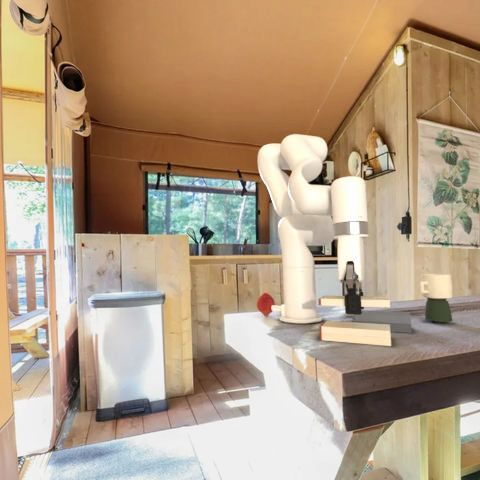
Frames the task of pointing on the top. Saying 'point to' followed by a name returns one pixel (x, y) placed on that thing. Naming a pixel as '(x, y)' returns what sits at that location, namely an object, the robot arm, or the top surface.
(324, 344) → the top surface
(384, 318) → the grey rectangular block
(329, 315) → the top surface
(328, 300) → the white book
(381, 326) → the cream rectangular block
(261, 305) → the onion
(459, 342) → the top surface
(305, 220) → the robot arm
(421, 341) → the top surface
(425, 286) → the character mug
